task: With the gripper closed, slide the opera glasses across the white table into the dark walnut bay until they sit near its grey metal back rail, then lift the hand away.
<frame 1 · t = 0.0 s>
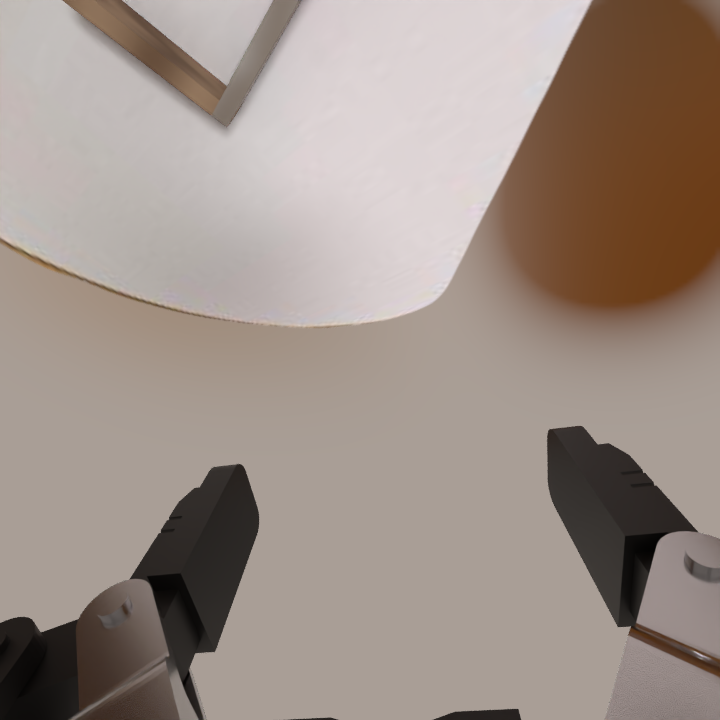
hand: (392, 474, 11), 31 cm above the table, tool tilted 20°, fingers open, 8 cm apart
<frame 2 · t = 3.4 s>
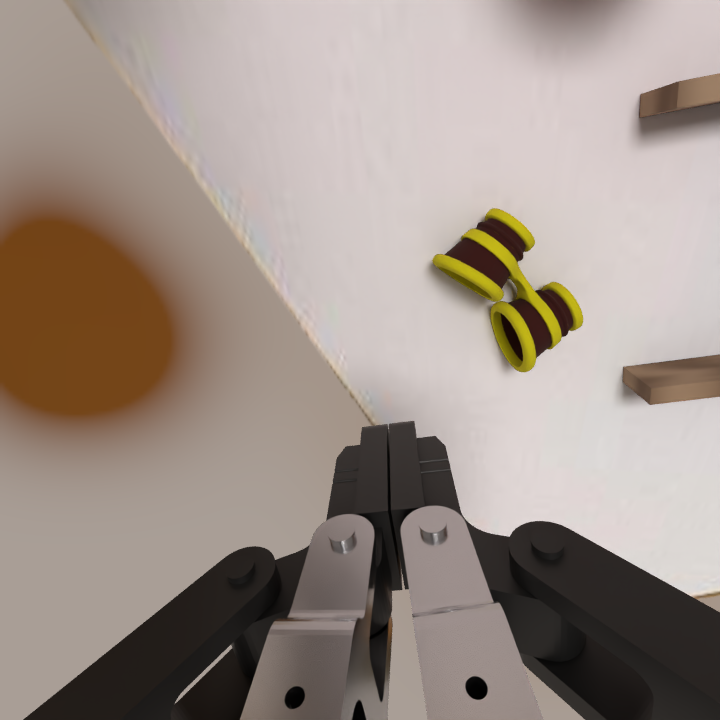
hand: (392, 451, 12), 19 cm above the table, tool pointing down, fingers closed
opera glasses: (500, 283, 30), on the table
walnut bay: (713, 242, 28), on the table
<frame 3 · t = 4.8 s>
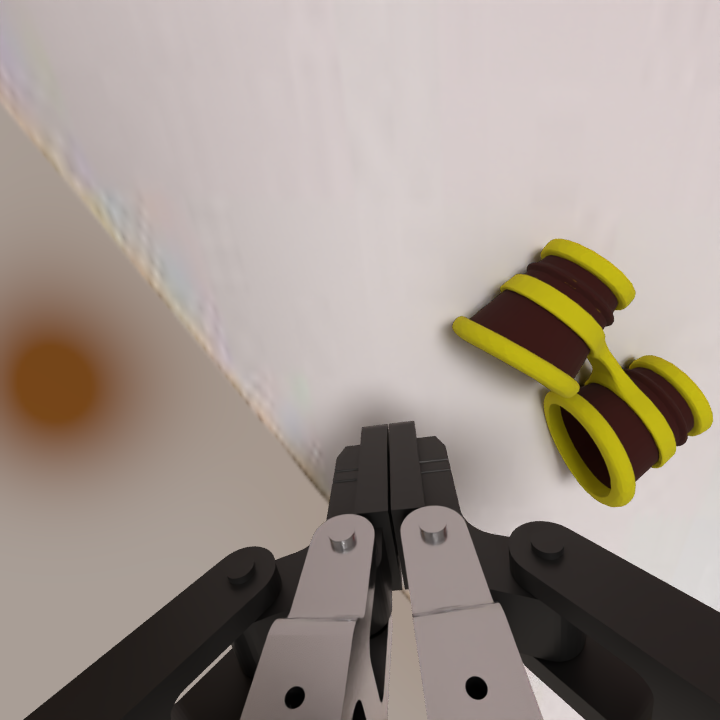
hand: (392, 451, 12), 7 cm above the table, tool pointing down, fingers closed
opera glasses: (559, 351, 19), on the table
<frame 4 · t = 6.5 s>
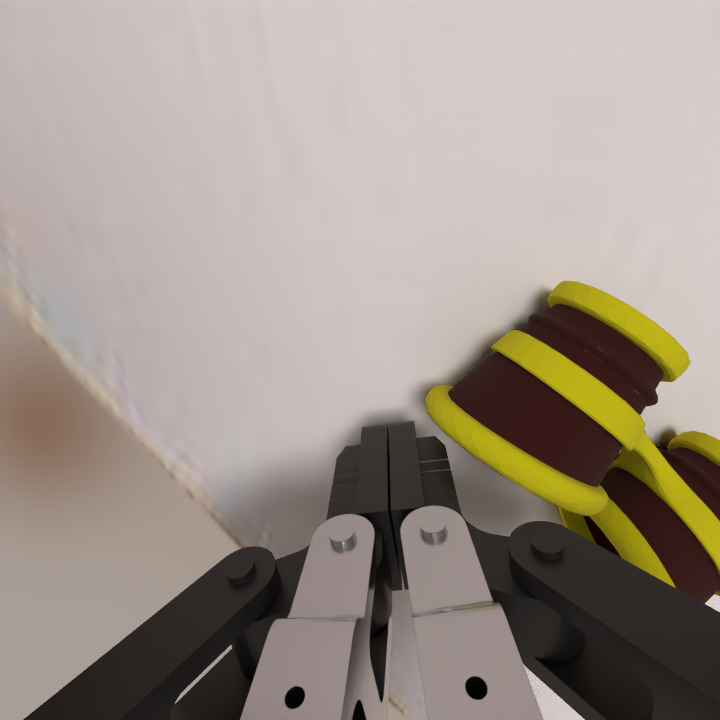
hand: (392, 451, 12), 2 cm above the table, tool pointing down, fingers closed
opera glasses: (574, 419, 14), on the table, touching gripper
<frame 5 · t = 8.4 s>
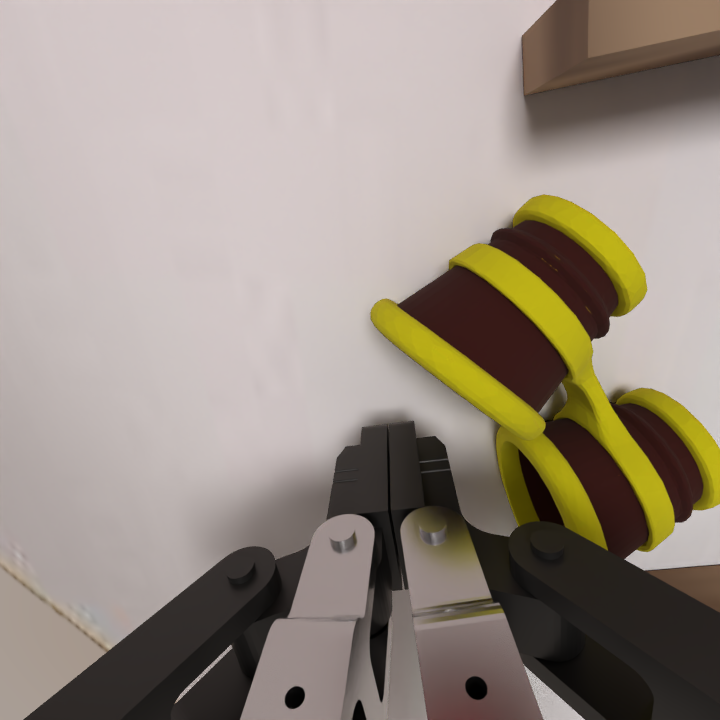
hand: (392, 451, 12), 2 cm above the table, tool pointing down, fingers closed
opera glasses: (526, 369, 13), on the table
walnut bay: (708, 368, 13), on the table
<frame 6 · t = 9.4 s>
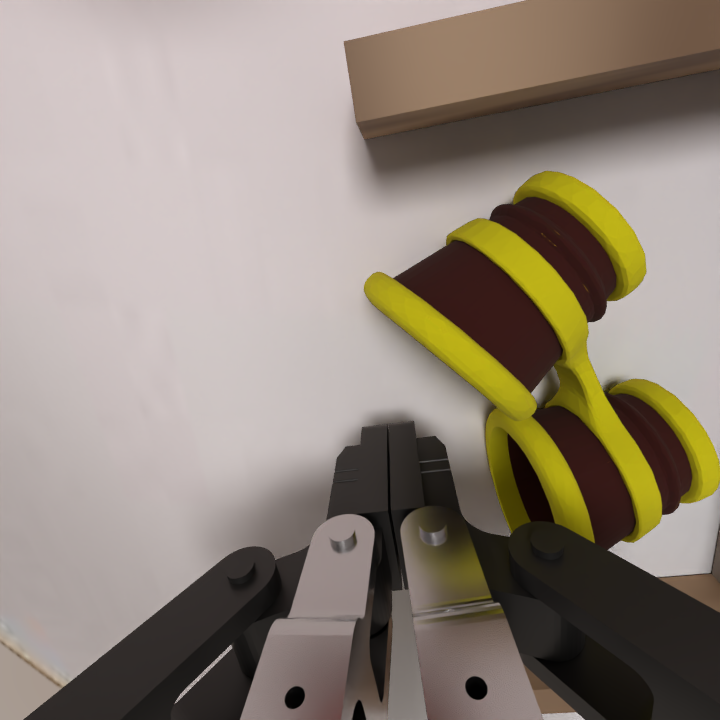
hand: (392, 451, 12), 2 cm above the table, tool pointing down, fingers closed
opera glasses: (519, 356, 13), on the table, touching gripper
walnut bay: (569, 396, 13), on the table
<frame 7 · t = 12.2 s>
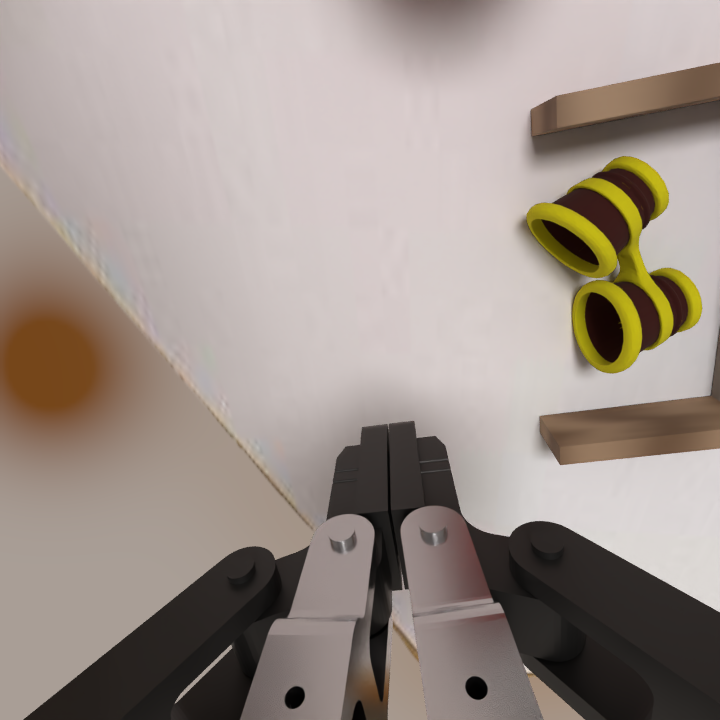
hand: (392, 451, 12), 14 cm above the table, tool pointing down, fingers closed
opera glasses: (594, 261, 24), on the table
walnut bay: (629, 278, 24), on the table
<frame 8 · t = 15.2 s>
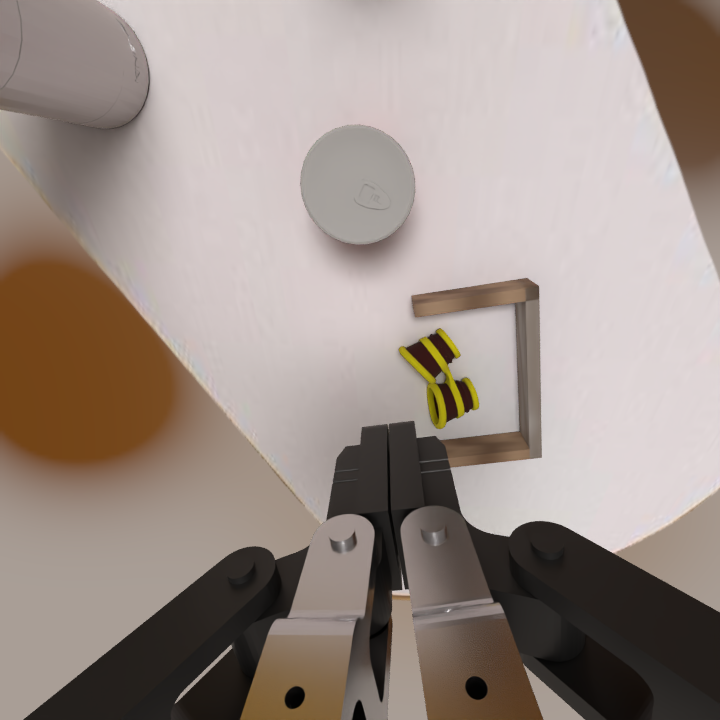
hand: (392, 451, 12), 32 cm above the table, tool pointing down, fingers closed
opera glasses: (438, 369, 47), on the table
walnut bay: (469, 372, 46), on the table
canned food: (364, 185, 40), on the table
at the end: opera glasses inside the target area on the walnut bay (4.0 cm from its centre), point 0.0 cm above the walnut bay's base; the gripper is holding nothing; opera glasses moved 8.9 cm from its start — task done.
